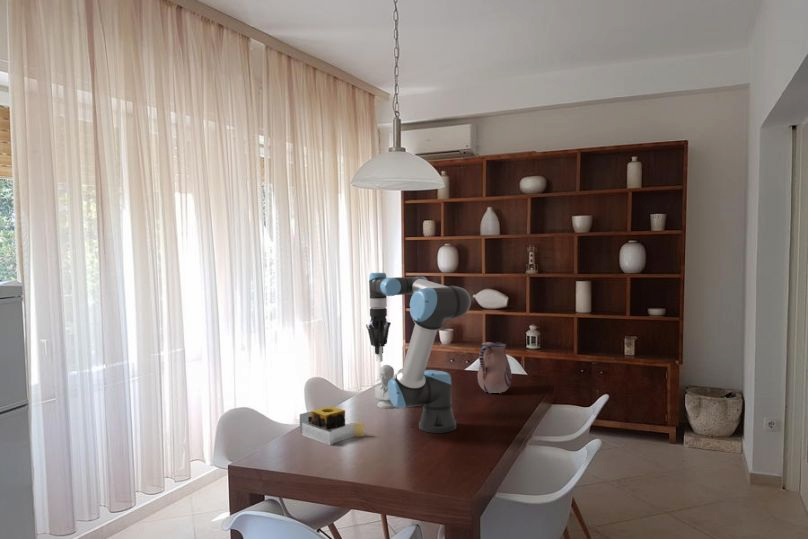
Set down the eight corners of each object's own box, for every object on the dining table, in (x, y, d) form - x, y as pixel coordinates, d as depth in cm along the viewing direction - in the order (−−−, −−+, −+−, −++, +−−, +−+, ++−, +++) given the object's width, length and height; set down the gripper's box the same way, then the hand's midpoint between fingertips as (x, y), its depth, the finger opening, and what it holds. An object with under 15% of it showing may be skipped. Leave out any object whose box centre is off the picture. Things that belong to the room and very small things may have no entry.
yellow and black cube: (326, 441, 214) (325, 415, 214) (310, 436, 221) (309, 410, 221) (346, 435, 221) (346, 410, 221) (330, 430, 228) (330, 405, 228)
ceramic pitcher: (517, 390, 289) (516, 342, 289) (501, 399, 272) (500, 348, 271) (486, 386, 299) (485, 340, 298) (468, 395, 281) (468, 345, 281)
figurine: (395, 409, 257) (394, 367, 256) (370, 407, 262) (370, 365, 261) (403, 404, 265) (403, 364, 265) (379, 402, 270) (379, 362, 270)
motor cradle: (365, 435, 220) (364, 418, 219) (332, 446, 208) (332, 427, 208) (327, 423, 237) (326, 407, 236) (295, 432, 225) (294, 415, 225)
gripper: (383, 306, 253) (384, 358, 253) (361, 308, 243) (362, 362, 244) (394, 307, 248) (395, 360, 248) (373, 309, 238) (374, 364, 239)
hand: (379, 361), depth 246 cm, fingers closed
